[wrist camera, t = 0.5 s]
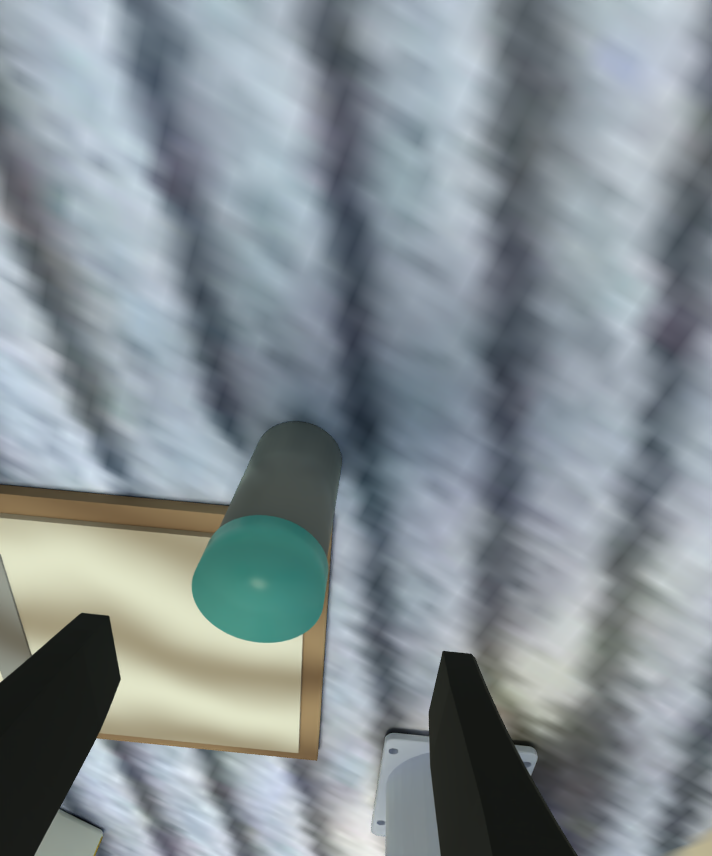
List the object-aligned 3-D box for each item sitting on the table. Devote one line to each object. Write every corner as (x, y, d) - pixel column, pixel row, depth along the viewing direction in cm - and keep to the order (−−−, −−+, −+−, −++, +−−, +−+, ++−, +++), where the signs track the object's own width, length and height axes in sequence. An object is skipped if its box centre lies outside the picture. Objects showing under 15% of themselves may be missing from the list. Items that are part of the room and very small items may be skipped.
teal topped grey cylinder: (341, 502, 21) (321, 648, 15) (253, 493, 21) (196, 636, 15) (347, 423, 20) (327, 550, 13) (252, 415, 20) (186, 537, 13)
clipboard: (318, 749, 29) (315, 773, 28) (-29, 714, 29) (-46, 737, 28) (333, 515, 22) (330, 535, 20) (-130, 472, 22) (-158, 490, 21)
